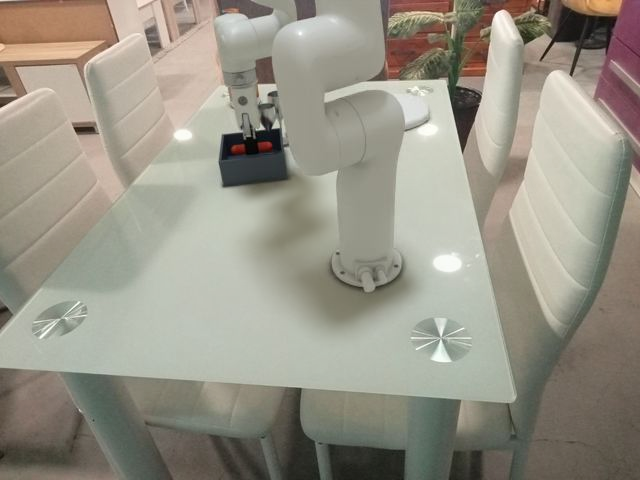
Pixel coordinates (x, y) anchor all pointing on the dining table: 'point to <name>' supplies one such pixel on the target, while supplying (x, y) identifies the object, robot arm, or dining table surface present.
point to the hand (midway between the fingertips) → (252, 150)
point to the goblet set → (271, 115)
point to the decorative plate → (413, 109)
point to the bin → (252, 160)
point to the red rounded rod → (262, 147)
